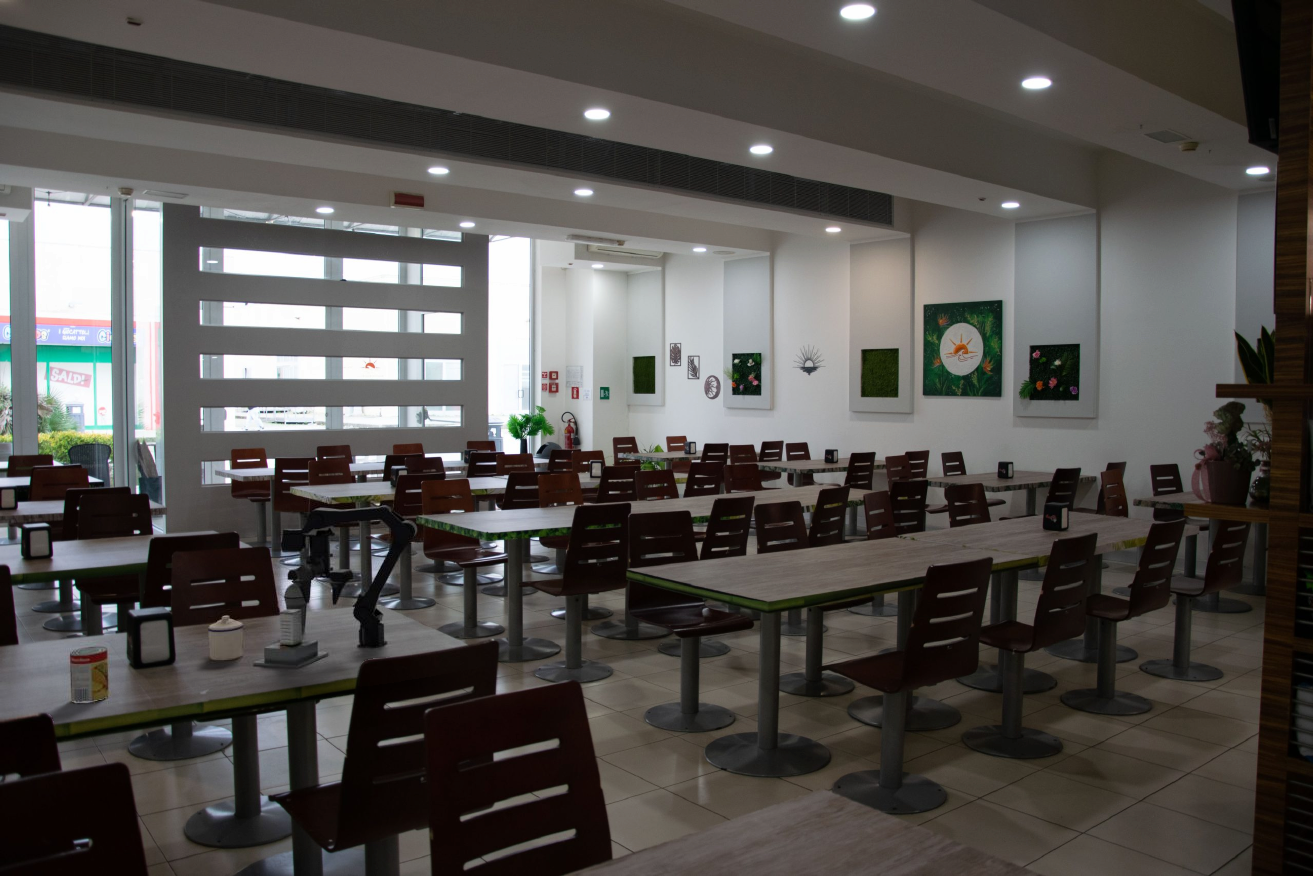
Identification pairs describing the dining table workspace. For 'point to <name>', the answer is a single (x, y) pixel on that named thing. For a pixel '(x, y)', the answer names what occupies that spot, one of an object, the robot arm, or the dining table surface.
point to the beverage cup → (296, 602)
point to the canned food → (89, 673)
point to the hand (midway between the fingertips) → (320, 603)
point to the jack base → (291, 655)
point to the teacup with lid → (226, 639)
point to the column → (290, 627)
